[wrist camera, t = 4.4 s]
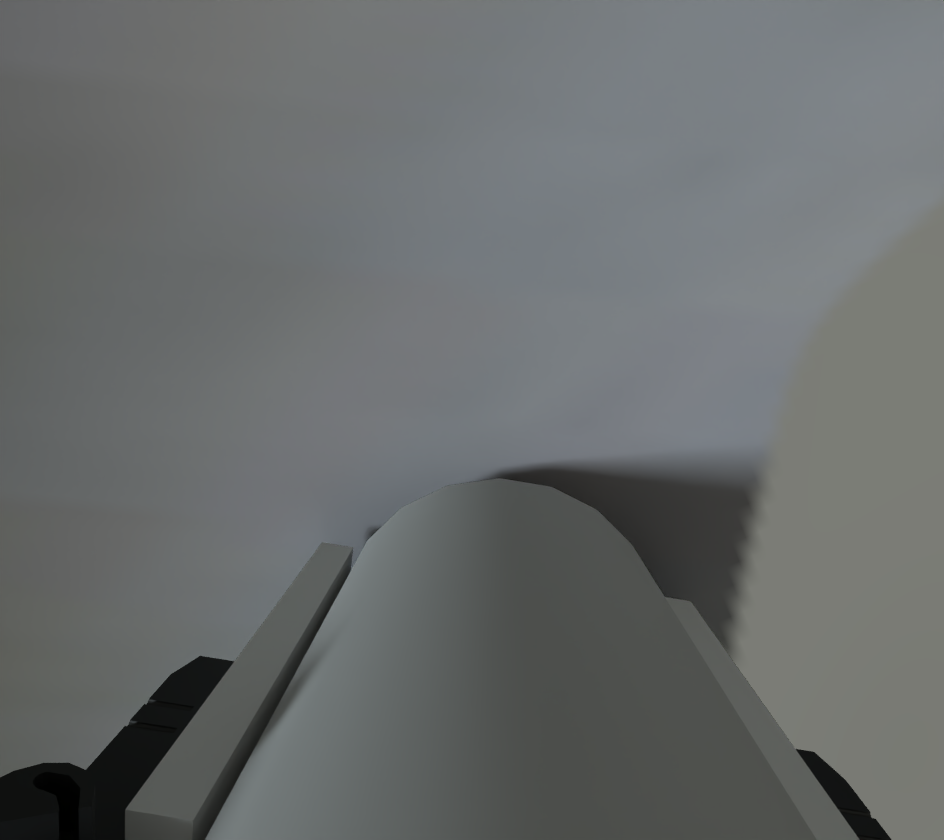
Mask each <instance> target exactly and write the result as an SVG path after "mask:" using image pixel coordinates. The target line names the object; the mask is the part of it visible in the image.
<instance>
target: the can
mask: <svg viewBox="0 0 944 840" xmlns="http://www.w3.org/2000/svg"><path fill="white" fill-rule="evenodd" d="M205 840H816V838H815V836H814V835H813V833H812V832H811V830H810V828H809V827H808V825H807V824H806V822H805V820H804V819H803V817H802V816H801V814H800V812H799V811H798V809H797V808H796V806H795V804H794V803H793V801H792V800H791V798H790V796H789V795H788V793H787V792H786V790H785V788H784V787H783V785H782V784H781V782H780V780H779V779H778V777H777V776H776V774H775V772H774V771H773V769H772V768H771V766H770V764H769V763H768V761H767V760H766V758H765V756H764V755H763V753H762V752H761V750H760V748H759V747H758V745H757V744H756V742H755V740H754V739H753V737H752V736H751V734H750V733H749V731H748V729H747V728H746V726H745V725H744V723H743V721H742V720H741V718H740V717H739V715H738V713H737V712H736V710H735V709H734V707H733V705H732V704H731V702H730V701H729V699H728V697H727V696H726V694H725V693H724V691H723V689H722V688H721V686H720V685H719V683H718V681H717V680H716V678H715V677H714V675H713V673H712V672H711V670H710V669H709V667H708V665H707V664H706V662H705V661H704V659H703V657H702V656H701V654H700V653H699V651H698V649H697V648H696V646H695V645H694V643H693V641H692V640H691V638H690V637H689V635H688V633H687V632H686V630H685V629H684V627H683V625H682V624H681V622H680V621H679V619H678V617H677V616H676V614H675V613H674V611H673V609H672V608H671V606H670V605H669V603H668V601H667V600H666V598H665V597H664V595H663V593H662V592H661V590H660V589H659V587H658V585H657V584H656V582H655V581H654V579H653V578H652V576H651V574H650V573H649V571H648V570H647V568H646V566H645V565H644V563H643V562H642V560H641V558H640V557H639V555H638V554H637V552H636V550H635V549H634V547H633V546H632V544H631V543H630V542H629V541H628V540H627V539H626V538H625V537H624V536H623V535H622V534H621V533H620V532H619V531H618V530H617V529H616V528H615V527H614V526H613V525H612V524H611V523H610V522H609V521H608V520H607V519H606V518H605V517H604V516H603V515H602V514H601V513H600V512H599V511H598V510H597V509H595V508H593V507H591V506H589V505H587V504H585V503H583V502H581V501H579V500H577V499H575V498H573V497H571V496H569V495H567V494H565V493H563V492H561V491H559V490H557V489H555V488H553V487H550V486H544V485H538V484H532V483H526V482H519V481H513V480H507V479H501V478H497V479H490V480H483V481H476V482H469V483H461V484H454V485H447V486H445V487H443V488H441V489H439V490H437V491H435V492H433V493H431V494H429V495H426V496H424V497H422V498H420V499H418V500H416V501H414V502H412V503H410V504H407V505H405V506H403V507H402V508H401V509H400V510H399V511H397V512H396V513H395V514H394V515H393V516H392V517H391V518H390V519H389V520H388V521H387V522H386V523H385V524H384V525H383V526H382V527H381V528H380V529H379V530H378V531H377V532H376V533H375V534H374V535H372V536H371V537H370V538H369V539H368V540H367V542H366V544H365V546H364V548H363V550H362V551H361V553H360V555H359V557H358V559H357V561H356V562H355V564H354V566H353V568H352V570H351V572H350V573H349V575H348V577H347V579H346V581H345V583H344V584H343V586H342V588H341V590H340V592H339V594H338V596H337V597H336V599H335V601H334V603H333V605H332V607H331V608H330V610H329V612H328V614H327V616H326V618H325V619H324V621H323V623H322V625H321V627H320V629H319V630H318V632H317V634H316V636H315V638H314V640H313V642H312V643H311V645H310V647H309V649H308V651H307V653H306V654H305V656H304V658H303V660H302V662H301V664H300V665H299V667H298V669H297V671H296V673H295V675H294V677H293V678H292V680H291V682H290V684H289V686H288V688H287V689H286V691H285V693H284V695H283V697H282V699H281V700H280V702H279V704H278V706H277V708H276V710H275V711H274V713H273V715H272V717H271V719H270V721H269V723H268V724H267V726H266V728H265V730H264V732H263V734H262V735H261V737H260V739H259V741H258V743H257V745H256V746H255V748H254V750H253V752H252V754H251V756H250V758H249V759H248V761H247V763H246V765H245V767H244V769H243V770H242V772H241V774H240V776H239V778H238V780H237V781H236V783H235V785H234V787H233V789H232V791H231V792H230V794H229V796H228V798H227V800H226V802H225V804H224V805H223V807H222V809H221V811H220V813H219V815H218V816H217V818H216V820H215V822H214V824H213V826H212V827H211V829H210V831H209V833H208V835H207V837H206V838H205Z"/></svg>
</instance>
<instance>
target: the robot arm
mask: <svg viewBox="0 0 944 840" xmlns="http://www.w3.org/2000/svg"><path fill="white" fill-rule="evenodd" d="M352 554H353V547H348V546H341V545H335V544H329V543H323V542H322V543H321V545H320V546H319V547H318V549H317V550H316V551H315V553H314V554H313V556H312V557H311V558H310V560H309V561H308V562H307V564H306V565H305V566H304V568H303V569H302V570H301V572H300V573H299V575H298V576H297V577H296V579H295V580H294V581H293V583H292V584H291V585H290V587H289V588H288V589H287V591H286V592H285V594H284V595H283V596H282V598H281V599H280V600H279V602H278V603H277V604H276V606H275V607H274V608H273V610H272V611H271V613H270V614H269V615H268V617H267V618H266V619H265V621H264V622H263V623H262V625H261V626H260V627H259V629H258V630H257V631H256V633H255V634H254V636H253V637H252V638H251V640H250V641H249V642H248V644H247V645H246V646H245V648H244V649H243V650H242V652H241V653H240V655H239V656H238V657H237V659H236V660H235V661H229V660H222V659H216V658H210V657H203V656H199V657H198V658H196V659H195V660H193V661H191V662H190V663H188V664H187V665H185V666H184V667H182V668H180V669H179V670H177V671H176V672H174V673H172V674H171V675H170V676H169V677H168V678H167V679H166V680H165V682H164V683H163V684H162V685H161V686H160V687H159V688H158V689H157V691H156V692H155V693H154V694H153V695H152V696H151V697H150V698H149V701H148V703H147V705H146V704H144V705H143V706H142V707H141V709H140V710H139V711H138V712H137V713H136V714H135V715H134V716H133V718H132V719H131V720H130V723H129V725H128V726H125V727H124V728H123V729H122V730H121V731H120V732H119V733H118V735H117V736H116V737H115V738H114V739H113V740H112V741H111V742H110V744H109V745H108V746H107V747H106V748H105V749H104V750H103V751H102V753H101V754H100V755H99V756H98V757H97V758H96V759H95V760H94V762H93V763H92V764H91V765H90V766H89V767H88V768H87V769H86V770H84V769H82V768H80V767H77V766H75V765H73V764H70V763H42V764H38V765H34V766H31V767H27V768H23V769H19V770H16V771H13V772H11V773H9V774H7V775H4V776H2V777H0V840H205V838H206V837H207V835H208V833H209V831H210V829H211V827H212V826H213V824H214V822H215V820H216V818H217V816H218V815H219V813H220V811H221V809H222V807H223V805H224V804H225V802H226V800H227V798H228V796H229V794H230V792H231V791H232V789H233V787H234V785H235V783H236V781H237V780H238V778H239V776H240V774H241V772H242V770H243V769H244V767H245V765H246V763H247V761H248V759H249V758H250V756H251V754H252V752H253V750H254V748H255V746H256V745H257V743H258V741H259V739H260V737H261V735H262V734H263V732H264V730H265V728H266V726H267V724H268V723H269V721H270V719H271V717H272V715H273V713H274V711H275V710H276V708H277V706H278V704H279V702H280V700H281V699H282V697H283V695H284V693H285V691H286V689H287V688H288V686H289V684H290V682H291V680H292V678H293V677H294V675H295V673H296V671H297V669H298V667H299V665H300V664H301V662H302V660H303V658H304V656H305V654H306V653H307V651H308V649H309V647H310V645H311V643H312V642H313V640H314V638H315V636H316V634H317V632H318V630H319V629H320V627H321V625H322V623H323V621H324V619H325V618H326V616H327V614H328V612H329V610H330V608H331V607H332V605H333V603H334V601H335V599H336V597H337V596H338V594H339V592H340V590H341V588H342V586H343V584H344V583H345V581H346V579H347V577H348V575H349V573H350V572H351V563H352ZM665 598H666V600H667V601H668V603H669V605H670V606H671V608H672V609H673V611H674V613H675V614H676V616H677V617H678V619H679V621H680V622H681V624H682V625H683V627H684V629H685V630H686V632H687V633H688V635H689V637H690V638H691V640H692V641H693V643H694V645H695V646H696V648H697V649H698V651H699V653H700V654H701V656H702V657H703V659H704V661H705V662H706V664H707V665H708V667H709V669H710V670H711V672H712V673H713V675H714V677H715V678H716V680H717V681H718V683H719V685H720V686H721V688H722V689H723V691H724V693H725V694H726V696H727V697H728V699H729V701H730V702H731V704H732V705H733V707H734V709H735V710H736V712H737V713H738V715H739V717H740V718H741V720H742V721H743V723H744V725H745V726H746V728H747V729H748V731H749V733H750V734H751V736H752V737H753V739H754V740H755V742H756V744H757V745H758V747H759V748H760V750H761V752H762V753H763V755H764V756H765V758H766V760H767V761H768V763H769V764H770V766H771V768H772V769H773V771H774V772H775V774H776V776H777V777H778V779H779V780H780V782H781V784H782V785H783V787H784V788H785V790H786V792H787V793H788V795H789V796H790V798H791V800H792V801H793V803H794V804H795V806H796V808H797V809H798V811H799V812H800V814H801V816H802V817H803V819H804V820H805V822H806V824H807V825H808V827H809V828H810V830H811V832H812V833H813V835H814V836H815V838H816V840H891V839H890V837H889V836H888V835H887V833H886V832H885V831H884V829H883V828H882V827H881V826H880V824H879V823H878V822H877V820H876V819H873V818H871V815H870V811H869V810H868V809H867V807H866V806H865V805H864V803H863V802H862V801H861V800H860V798H859V797H858V796H857V794H856V793H855V792H854V790H853V789H852V788H851V786H850V785H849V784H848V783H847V782H846V780H845V779H844V778H843V777H841V776H840V775H839V774H838V773H837V772H836V771H835V770H833V768H831V767H830V766H829V765H828V764H827V763H826V762H825V761H823V760H822V759H821V758H820V757H819V756H818V755H817V754H816V753H815V752H811V751H804V750H798V749H795V748H794V747H793V745H792V744H791V742H790V741H789V739H788V738H787V737H786V736H785V734H784V732H783V731H782V729H781V728H780V727H779V725H778V724H777V723H776V721H775V720H774V718H773V717H772V715H771V714H770V713H769V711H768V710H767V708H766V707H765V705H764V704H763V703H762V701H761V700H760V698H759V697H758V696H757V694H756V693H755V691H754V690H753V689H752V687H751V686H750V684H749V683H748V681H747V680H746V679H745V677H744V676H743V674H742V673H741V672H740V670H739V669H738V667H737V666H736V664H735V663H734V662H733V660H732V659H731V657H730V656H729V655H728V653H727V652H726V650H725V649H724V648H723V646H722V645H721V643H720V642H719V640H718V639H717V638H716V636H715V635H714V633H713V632H712V631H711V629H710V628H709V626H708V625H707V624H706V622H705V621H704V619H703V618H702V616H701V615H700V614H699V612H698V611H697V609H696V608H695V607H694V605H693V604H692V602H691V601H686V600H680V599H674V598H668V597H665Z"/></svg>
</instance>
